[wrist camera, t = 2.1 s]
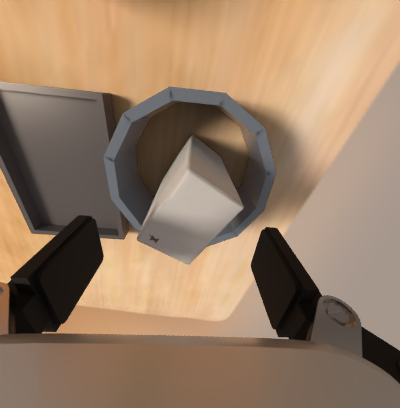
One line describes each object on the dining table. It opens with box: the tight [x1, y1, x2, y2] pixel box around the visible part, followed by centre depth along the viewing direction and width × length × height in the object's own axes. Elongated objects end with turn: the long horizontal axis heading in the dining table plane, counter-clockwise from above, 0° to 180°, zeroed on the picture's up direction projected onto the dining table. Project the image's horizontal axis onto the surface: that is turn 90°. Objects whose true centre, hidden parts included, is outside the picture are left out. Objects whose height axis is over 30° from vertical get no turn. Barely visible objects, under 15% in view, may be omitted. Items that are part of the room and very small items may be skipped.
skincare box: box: [137, 135, 244, 264], centre depth 16 cm, size 6×4×12 cm
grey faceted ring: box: [104, 87, 276, 247], centre depth 18 cm, size 15×15×6 cm
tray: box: [0, 82, 129, 239], centre depth 20 cm, size 12×17×2 cm
